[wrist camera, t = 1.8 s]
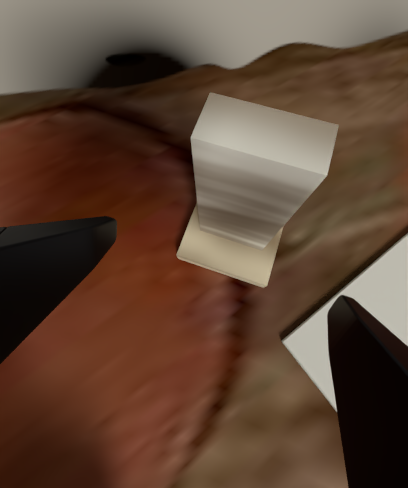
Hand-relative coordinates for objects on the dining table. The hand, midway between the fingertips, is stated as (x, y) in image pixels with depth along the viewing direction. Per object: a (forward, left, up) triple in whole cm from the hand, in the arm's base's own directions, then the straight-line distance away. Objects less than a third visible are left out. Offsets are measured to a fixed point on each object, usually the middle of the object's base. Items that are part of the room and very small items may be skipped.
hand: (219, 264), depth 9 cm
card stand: (+4, +4, -12) cm, 13 cm away
